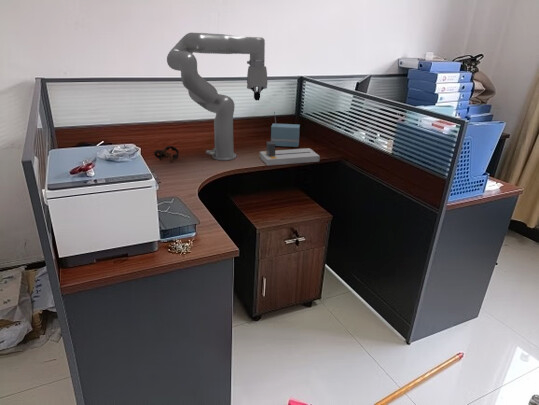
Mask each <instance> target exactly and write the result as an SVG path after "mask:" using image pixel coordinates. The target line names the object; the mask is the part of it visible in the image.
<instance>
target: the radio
mask: <svg viewBox="0 0 539 405" xmlns="http://www.w3.org/2000/svg"><path fill="white" fill-rule="evenodd" d="M274 115H276V112H275V111H274ZM274 122H275V123H272V125H271V127H270V128H271V129H270V141H273V142H274V143H275V146H276V147H289V148H292V147H293V149H296V148H299V145H300V130H301V129H300V127H301V124H293V123H277V119H276V117H274Z"/></svg>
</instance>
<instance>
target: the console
mask: <svg viewBox="0 0 539 405" xmlns="http://www.w3.org/2000/svg"><path fill="white" fill-rule="evenodd" d="M259 158H260V159H261V160H262V161H264V162H265V163H266V164H267V165H266V164H265V163H264V162H263V163H264V164H265V165H266V166H276V165H278V166H279V165H292V164H293V165H294V164H304V163H318V162H320V155H319V154H318V153H316V152H315V151H314V150H313V149H311V148H308V147H307V148H293V149H291V148H290V149H280V150H276V149H275V156H269V155H268V154H267V153H266V150H264V151H263V150H262V151H259Z"/></svg>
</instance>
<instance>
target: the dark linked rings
mask: <svg viewBox="0 0 539 405" xmlns="http://www.w3.org/2000/svg"><path fill="white" fill-rule="evenodd" d="M170 149H171V151H175V152H176V153H175V154H172V153H169V152H168V151H169V150H170ZM171 154H172V155H171ZM179 154H180V151H179V149H178V148H176V147H175V146H172V145H165V146H164V148H162V149H155V151H154V153H153V155H154V157H155V158H157V159H159V160H160V161H161V160H162V159H163V158H169V161H168V162H169V163H170V164H171V163H173V162H175V161H176V160H177V159H178V158H179Z"/></svg>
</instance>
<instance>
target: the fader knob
mask: <svg viewBox="0 0 539 405" xmlns="http://www.w3.org/2000/svg"><path fill="white" fill-rule="evenodd" d="M265 147H266V150H265V151H266V153H267V154H268V155H269V156H275V151H276V147H275V143H274V142H273V141H271V140H270V141H266V146H265Z"/></svg>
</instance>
